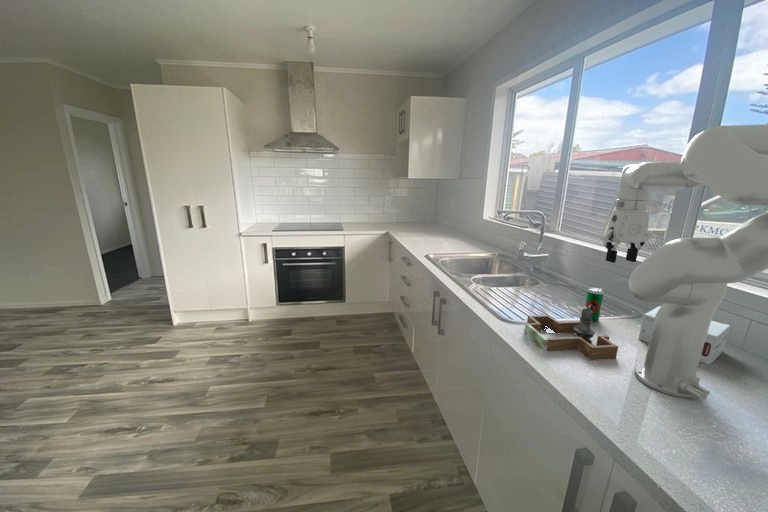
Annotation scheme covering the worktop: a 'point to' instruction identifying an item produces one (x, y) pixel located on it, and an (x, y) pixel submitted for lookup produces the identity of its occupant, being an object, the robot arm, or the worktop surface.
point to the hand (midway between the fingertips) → (620, 260)
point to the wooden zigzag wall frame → (567, 338)
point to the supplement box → (712, 343)
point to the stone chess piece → (585, 325)
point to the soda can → (594, 302)
